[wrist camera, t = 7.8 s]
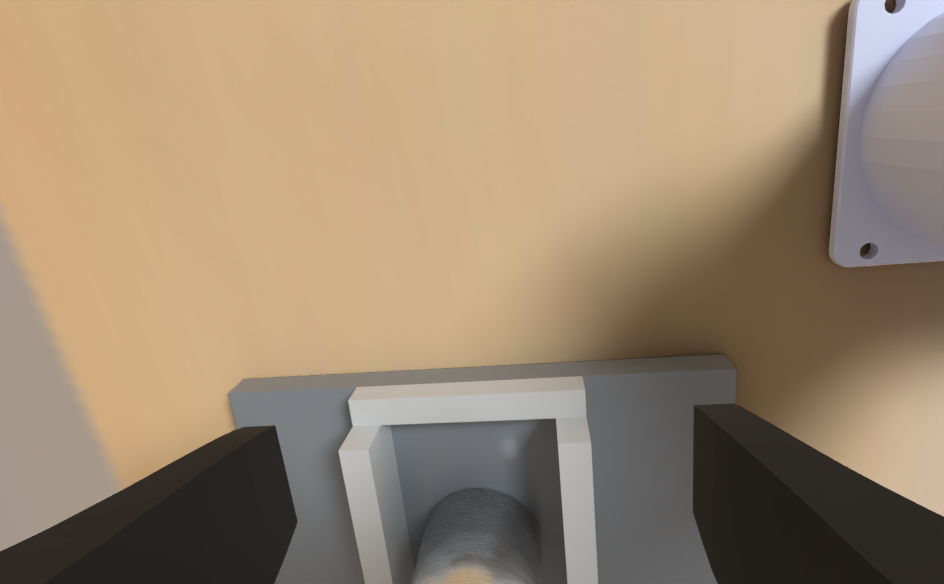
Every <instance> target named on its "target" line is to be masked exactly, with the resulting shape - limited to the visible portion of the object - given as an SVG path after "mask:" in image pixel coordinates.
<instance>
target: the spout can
mask: <svg viewBox="0 0 944 584" xmlns="http://www.w3.org/2000/svg"><path fill="white" fill-rule="evenodd" d="M411 584H541V551H540V531H539V527H538V524H537V522H536V520H535V518H534V516H533V515H532V513H531V512H530V511H529V510H528V508H527V507H526V506H525V505H523V504H522V503H521V502H520V501H518V500H517V499H516V498H514V497H512V496H510V495H508V494H506V493H503V492H501V491H497V490H494V489H488V488H469V489H463V490H460V491H456V492H454V493H452V494H450V495H448V496H446V497H444V498H443V499H442V500H441V501H439V502H438V503H437V505H436V506H435V507H434V508H433V510H432V511H431V513H430V515H429V517H428V521H427V524H426V528H425V532H424V536H423V540H422V544H421V548H420V551H419V555H418V559H417V563H416V567H415V571H414V575H413V579H412V582H411Z"/></svg>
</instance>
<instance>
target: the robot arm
mask: <svg viewBox="0 0 944 584" xmlns="http://www.w3.org/2000/svg"><path fill="white" fill-rule="evenodd" d="M885 1H886V0H852V2H851V4H850V8H849V14H848V26H847V38H846V50H845V62H844V74H843V86H842V98H841V110H840V122H839V134H838V146H837V158H836V170H835V182H834V194H833V206H832V218H831V230H830V242H829V257H830V258H831V260H832V261H833V262H834V263H836V264H838V265H840V266H842V267H863V266H878V265H892V264H906V263H921V262H935V261H944V0H896V4H897V5H896V8H895V10H894V11H893V12H892V13H888V12H887V11H886V10H885V5H884V4H885ZM867 243H870V246H871V249H870V251H869V253H867V254H866V255H864V256H860V250H861V247H863V246H864V245H865V244H867ZM693 514H694V517H695V520H696V524H697V527H698V530H699V533H700V536H701V540H702V543H703V546H704V549H705V552H706V555H707V558H708V561H709V564H710V567H711V569H712V572H713V574H714V576H715V579H716V581H717V583H718V584H944V517H943V516H941V515H939V514H937V513H935V512H933V511H931V510H929V509H927V508H925V507H923V506H921V505H919V504H917V503H915V502H913V501H911V500H909V499H907V498H905V497H903V496H901V495H899V494H897V493H895V492H893V491H891V490H889V489H887V488H885V487H883V486H881V485H879V484H877V483H875V482H874V481H872V480H870V479H868V478H866V477H864V476H862V475H861V474H859V473H857V472H855V471H853V470H851V469H849V468H848V467H846V466H844V465H842V464H840V463H839V462H837V461H835V460H833V459H831V458H830V457H828V456H826V455H824V454H823V453H821V452H819V451H817V450H816V449H814V448H812V447H810V446H809V445H807V444H805V443H803V442H802V441H800V440H798V439H796V438H795V437H793V436H791V435H790V434H788V433H786V432H784V431H783V430H781V429H779V428H778V427H776V426H774V425H772V424H771V423H769V422H767V421H766V420H764V419H762V418H760V417H758V416H757V415H755V414H753V413H751V412H750V411H748V410H746V409H744V408H742V407H740V406H738V405H736V404H733V403H729V404H708V405H694V429H693ZM297 522H298V521H297V516H296V512H295V508H294V504H293V499H292V495H291V491H290V486H289V482H288V478H287V473H286V469H285V465H284V461H283V456H282V452H281V448H280V443H279V439H278V435H277V430H276V426H275V425H274V426H253V427H242V428H240V429H237V430H235V431H232V432H230V433H228V434H226V435H223V436H221V437H219V438H217V439H215V440H213V441H211V442H210V443H208V444H206V445H204V446H202V447H200V448H198V449H196V450H194V451H193V452H191V453H189V454H187V455H185V456H183V457H182V458H180V459H178V460H176V461H174V462H173V463H171V464H169V465H167V466H165V467H164V468H162V469H160V470H158V471H156V472H154V473H153V474H151V475H149V476H147V477H145V478H144V479H142V480H140V481H138V482H136V483H135V484H133V485H131V486H129V487H127V488H125V489H124V490H122V491H120V492H118V493H116V494H114V495H112V496H110V497H108V498H106V499H105V500H103V501H101V502H99V503H97V504H95V505H93V506H91V507H89V508H87V509H85V510H83V511H82V512H80V513H78V514H76V515H74V516H72V517H70V518H68V519H66V520H64V521H62V522H61V523H59V524H57V525H55V526H53V527H51V528H49V529H47V530H45V531H43V532H41V533H39V534H37V535H34V536H32V537H30V538H28V539H26V540H24V541H22V542H20V543H18V544H16V545H14V546H11V547H9V548H7V549H5V550H3V551H1V552H0V584H274V582H275V580H276V578H277V576H278V574H279V571H280V568H281V566H282V563H283V561H284V558H285V556H286V553H287V551H288V548H289V545H290V542H291V539H292V537H293V534H294V531H295V528H296V525H297Z"/></svg>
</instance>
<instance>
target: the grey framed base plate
mask: <svg viewBox="0 0 944 584" xmlns="http://www.w3.org/2000/svg"><path fill="white" fill-rule="evenodd" d="M736 379H737V368H736V367H735V366H734V365H733V363H732V362H731V361H730V360H729V358H728V357H727V356H726V355H725V354H713V355H694V356H675V357H656V358H637V359H618V360H598V361H579V362H560V363H541V364H522V365H503V366H483V367H464V368H445V369H426V370H407V371H388V372H368V373H349V374H330V375H311V376H292V377H273V378H253V379H243V380H242V381H241V382H240V383H239V384H238V385H237V386H235V387H234V388H233V389H232V390H231V391H230V392H229V393H228V396H229V400H230V404H231V408H232V412H233V416H234V420H235V423H236V427H237V429H240V428H242V427H253V426H274V425H275V426H276V430H277V435H278V439H279V443H280V448H281V452H282V456H283V461H284V465H285V469H286V473H287V478H288V482H289V486H290V491H291V495H292V499H293V504H294V508H295V512H296V516H297V521H298V522H297V525H296V528H295V531H294V534H293V537H292V539H291V542H290V545H289V548H288V551H287V553H286V556H285V558H284V561H283V563H282V566H281V568H280V571H279V574H278V576H277V578H276V582H277V584H411V582H412V579H413V575H414V571H415V567H416V563H417V559H418V555H419V551H420V548H421V544H422V540H423V536H424V532H425V528H426V524H427V521H428V517H429V515H430V513H431V511H432V510H433V508H434V507H435V506H436V505H437V503H438V502H439V501H441V500H442V499H443V498H444V497H446V496H448V495H450V494H452V493H454V492H456V491H460V490H463V489H469V488H488V489H494V490H497V491H501V492H503V493H506V494H508V495H510V496H512V497H514V498H516V499H517V500H518V501H520V502H521V503H522V504H523V505H525V506H526V507H527V508H528V510H529V511H530V512H531V513H532V515H533V516H534V518H535V520H536V522H537V524H538V527H539V531H540V551H541V584H718V583H717V581H716V579H715V576H714V574H713V572H712V569H711V567H710V564H709V561H708V558H707V555H706V552H705V549H704V546H703V543H702V540H701V536H700V533H699V530H698V527H697V524H696V520H695V517H694V514H693V429H694V405H708V404H729V403H733V404H736Z"/></svg>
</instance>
